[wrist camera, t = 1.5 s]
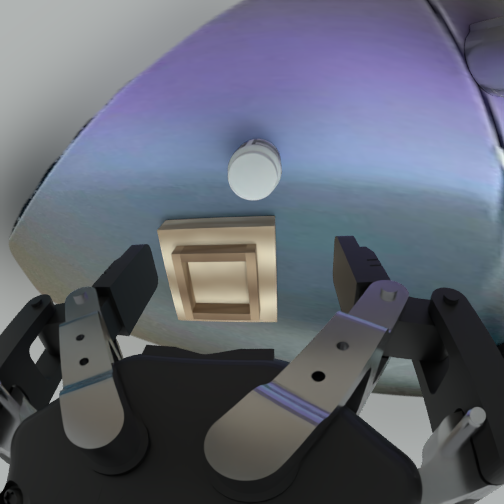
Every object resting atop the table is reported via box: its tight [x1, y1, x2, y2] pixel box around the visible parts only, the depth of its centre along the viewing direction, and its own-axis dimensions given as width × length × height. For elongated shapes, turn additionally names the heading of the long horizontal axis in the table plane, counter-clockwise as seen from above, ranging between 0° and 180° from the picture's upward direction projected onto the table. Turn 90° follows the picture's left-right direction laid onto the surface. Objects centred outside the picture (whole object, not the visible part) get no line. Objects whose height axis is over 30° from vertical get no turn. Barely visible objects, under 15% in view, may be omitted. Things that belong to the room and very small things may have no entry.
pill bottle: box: [228, 139, 282, 200], centre depth 26 cm, size 5×5×8 cm
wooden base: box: [157, 216, 277, 322], centre depth 34 cm, size 13×13×5 cm
